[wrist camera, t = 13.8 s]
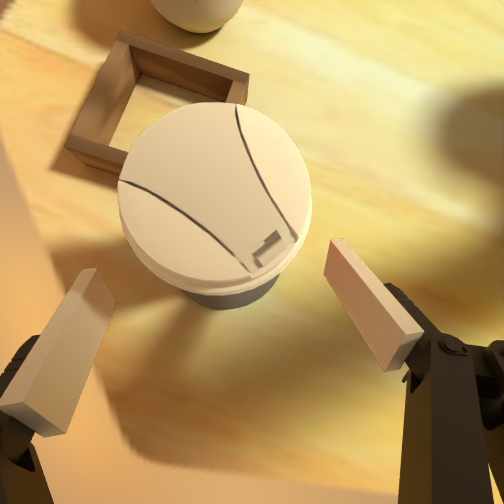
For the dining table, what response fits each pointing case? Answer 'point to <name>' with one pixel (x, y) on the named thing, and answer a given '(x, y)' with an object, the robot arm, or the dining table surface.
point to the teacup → (197, 13)
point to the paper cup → (215, 198)
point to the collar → (122, 85)
